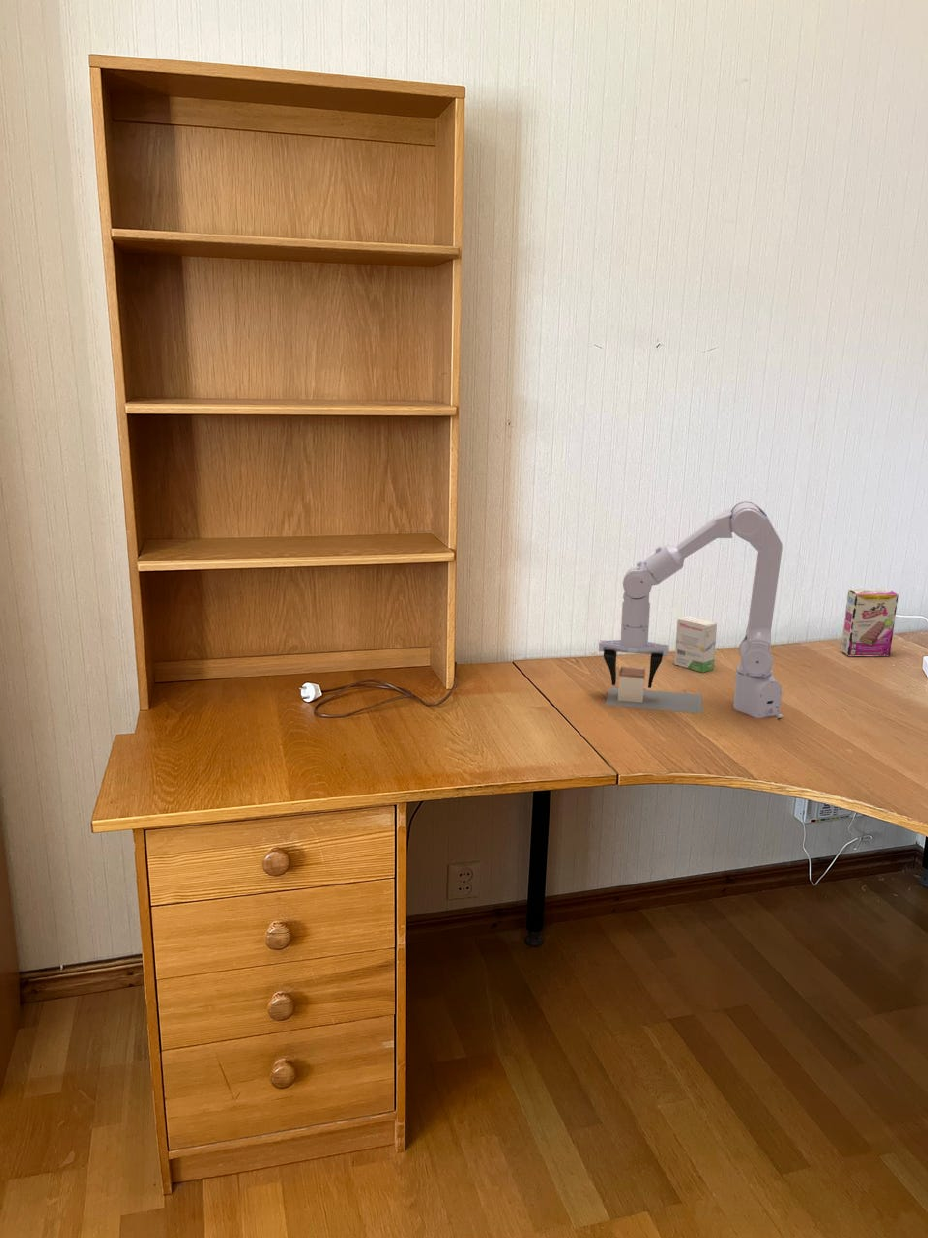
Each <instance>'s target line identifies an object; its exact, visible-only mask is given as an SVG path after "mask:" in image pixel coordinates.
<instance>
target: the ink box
mask: <svg viewBox="0 0 928 1238" xmlns="http://www.w3.org/2000/svg"><path fill="white" fill-rule="evenodd" d="M676 621H677V622H676V633H675V647H674V648H675V649H674V650H675V651H674V666H677V665H678V667H681V668H685V669H688V670H692V671H695V672H698V673H703V674H705V673H707V672H710V671H713V670H714V668H715V658H716V642H717V641H716V640H717V630H718V628H717V627H718V623H717V622H713V621H711V620H706V619H701V618H698V617H695V616H691V615H689V616H684V617H678V618H677V619H676Z"/></svg>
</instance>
